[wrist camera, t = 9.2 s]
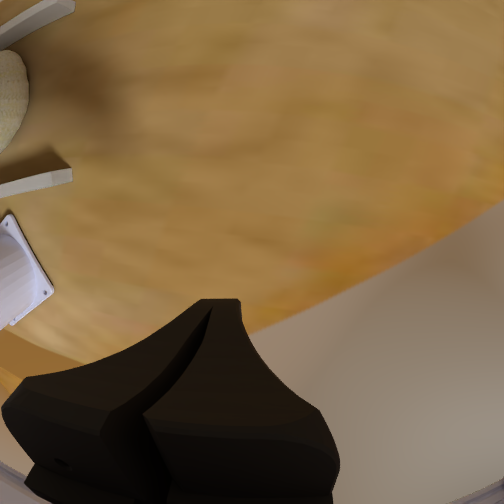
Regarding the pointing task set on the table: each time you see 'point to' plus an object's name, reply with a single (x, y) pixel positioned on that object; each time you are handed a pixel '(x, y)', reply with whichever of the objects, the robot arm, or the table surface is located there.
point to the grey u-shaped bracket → (37, 16)
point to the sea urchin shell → (12, 95)
